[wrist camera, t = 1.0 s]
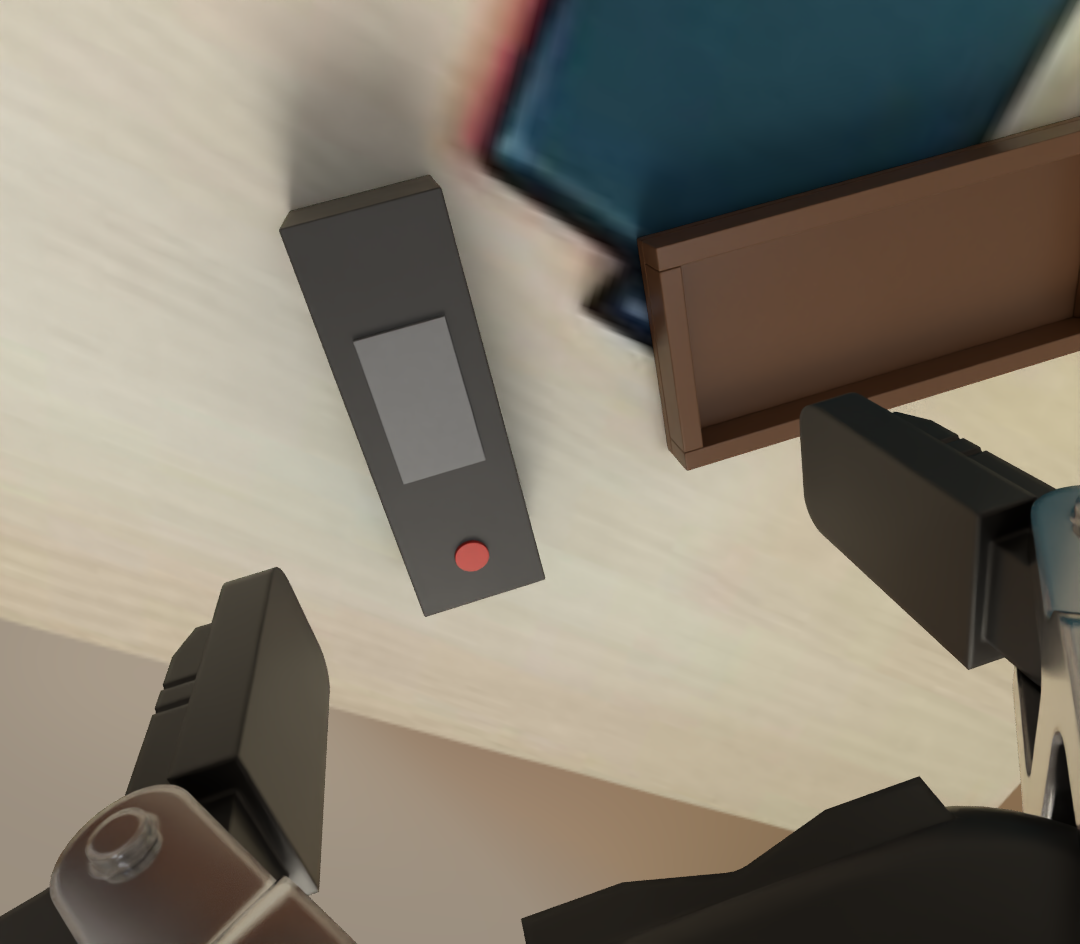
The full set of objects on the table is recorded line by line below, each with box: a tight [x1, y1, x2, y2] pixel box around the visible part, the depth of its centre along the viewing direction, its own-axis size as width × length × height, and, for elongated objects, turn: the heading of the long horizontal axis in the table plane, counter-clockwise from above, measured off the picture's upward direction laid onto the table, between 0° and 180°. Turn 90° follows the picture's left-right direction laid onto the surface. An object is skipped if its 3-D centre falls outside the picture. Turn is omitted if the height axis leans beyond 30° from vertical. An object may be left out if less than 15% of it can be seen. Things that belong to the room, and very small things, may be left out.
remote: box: [279, 175, 545, 617], centre depth 26 cm, size 14×5×4 cm, turn 12°
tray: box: [637, 116, 1080, 470], centre depth 28 cm, size 9×19×2 cm, turn 102°
